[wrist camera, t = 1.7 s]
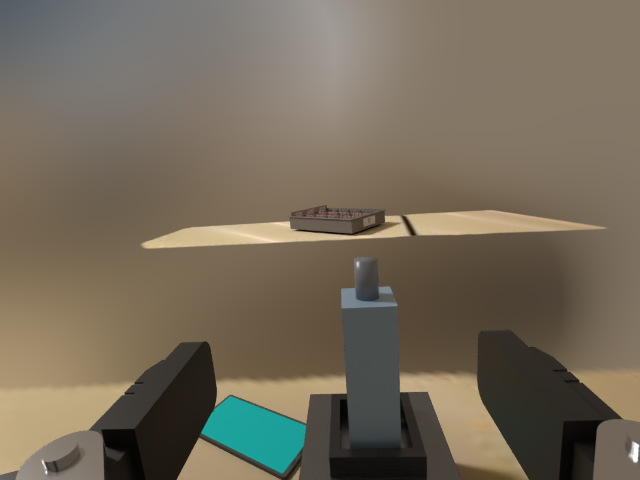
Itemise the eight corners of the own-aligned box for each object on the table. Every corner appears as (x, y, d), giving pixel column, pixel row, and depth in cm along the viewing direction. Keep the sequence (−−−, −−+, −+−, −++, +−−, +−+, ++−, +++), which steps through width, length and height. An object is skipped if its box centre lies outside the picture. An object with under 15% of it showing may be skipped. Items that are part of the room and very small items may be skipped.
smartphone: (284, 477, 34) (188, 429, 42) (285, 484, 34) (189, 434, 42) (321, 428, 40) (230, 393, 48) (321, 434, 41) (231, 399, 48)
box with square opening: (304, 600, 25) (292, 491, 23) (316, 458, 37) (309, 379, 35) (471, 604, 24) (474, 491, 22) (427, 457, 36) (427, 376, 34)
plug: (350, 459, 27) (339, 268, 24) (349, 422, 31) (339, 254, 28) (401, 458, 27) (396, 265, 23) (393, 421, 31) (388, 251, 27)
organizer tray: (352, 237, 151) (351, 215, 149) (288, 231, 176) (287, 212, 174) (387, 224, 175) (386, 205, 173) (326, 221, 200) (325, 204, 198)
